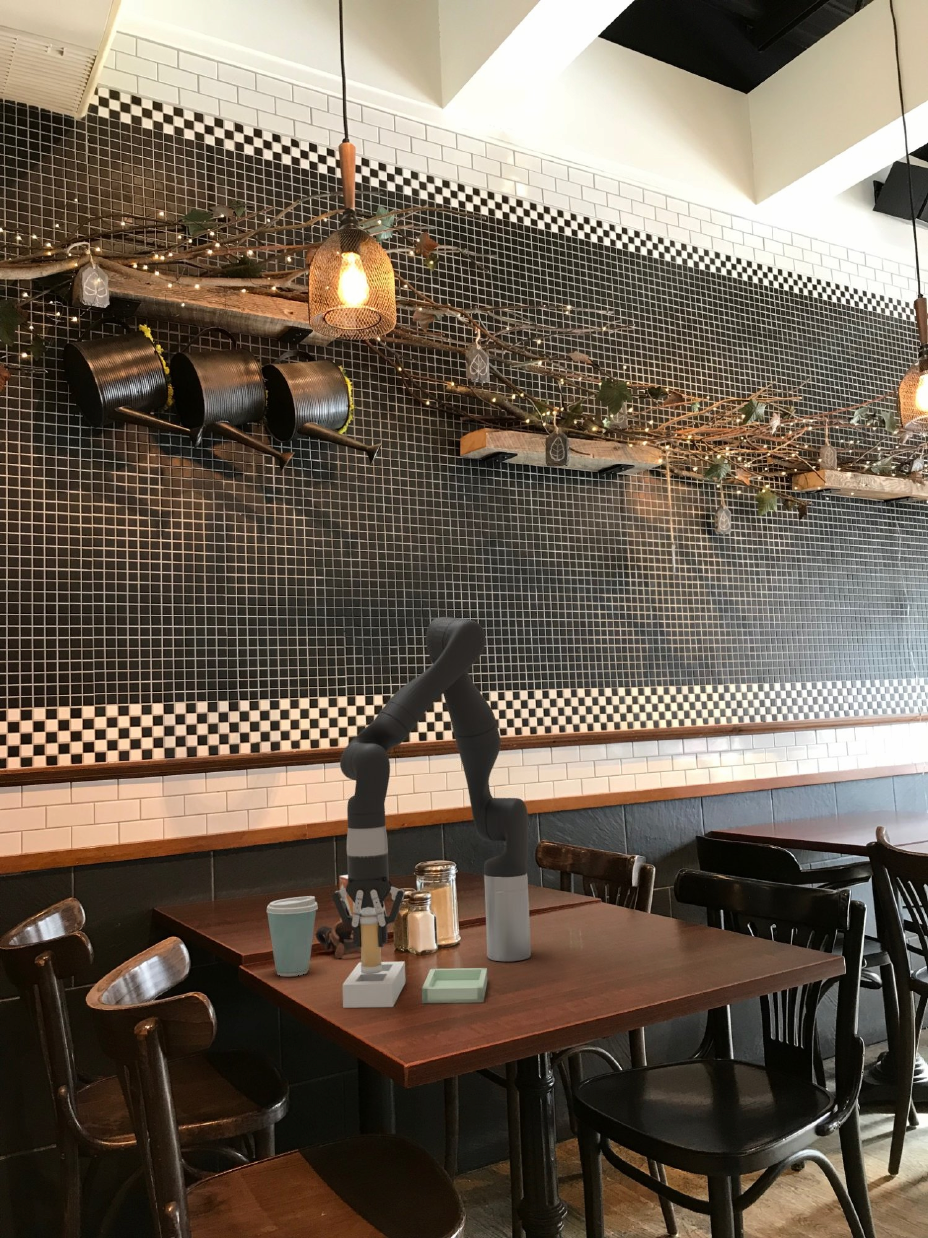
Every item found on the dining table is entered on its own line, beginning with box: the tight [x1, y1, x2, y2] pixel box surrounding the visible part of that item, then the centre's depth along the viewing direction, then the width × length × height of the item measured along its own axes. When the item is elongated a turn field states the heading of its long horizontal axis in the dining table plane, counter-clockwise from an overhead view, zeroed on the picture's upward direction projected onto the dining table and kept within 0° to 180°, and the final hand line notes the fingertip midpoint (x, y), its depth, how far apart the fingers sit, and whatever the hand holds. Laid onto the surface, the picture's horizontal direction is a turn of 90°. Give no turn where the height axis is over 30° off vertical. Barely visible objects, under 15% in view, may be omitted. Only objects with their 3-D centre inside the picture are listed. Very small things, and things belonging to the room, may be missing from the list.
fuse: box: [360, 913, 382, 974], centre depth 181 cm, size 4×4×10 cm
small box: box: [338, 874, 376, 921], centre depth 241 cm, size 8×6×13 cm
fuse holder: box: [342, 961, 406, 1009], centre depth 183 cm, size 16×9×4 cm, turn 175°
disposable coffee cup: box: [266, 895, 319, 978], centre depth 202 cm, size 11×11×15 cm
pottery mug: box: [314, 920, 361, 959], centre depth 217 cm, size 12×10×8 cm
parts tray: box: [421, 967, 489, 1004], centre depth 183 cm, size 14×11×2 cm
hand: (370, 946), depth 181 cm, fingers closed on fuse, 3 cm apart
